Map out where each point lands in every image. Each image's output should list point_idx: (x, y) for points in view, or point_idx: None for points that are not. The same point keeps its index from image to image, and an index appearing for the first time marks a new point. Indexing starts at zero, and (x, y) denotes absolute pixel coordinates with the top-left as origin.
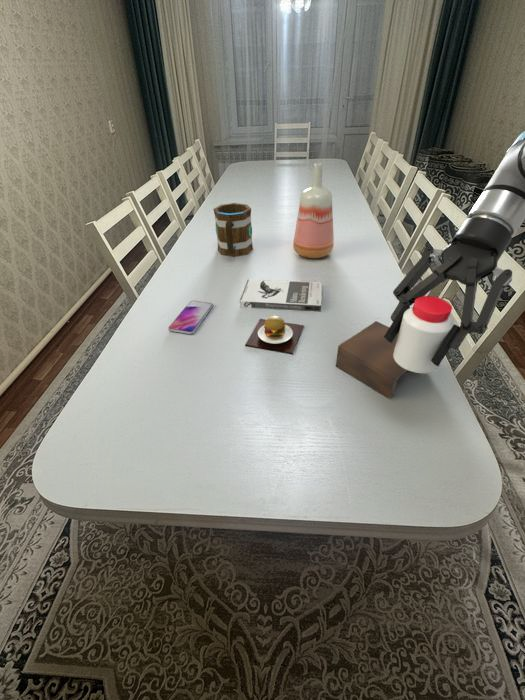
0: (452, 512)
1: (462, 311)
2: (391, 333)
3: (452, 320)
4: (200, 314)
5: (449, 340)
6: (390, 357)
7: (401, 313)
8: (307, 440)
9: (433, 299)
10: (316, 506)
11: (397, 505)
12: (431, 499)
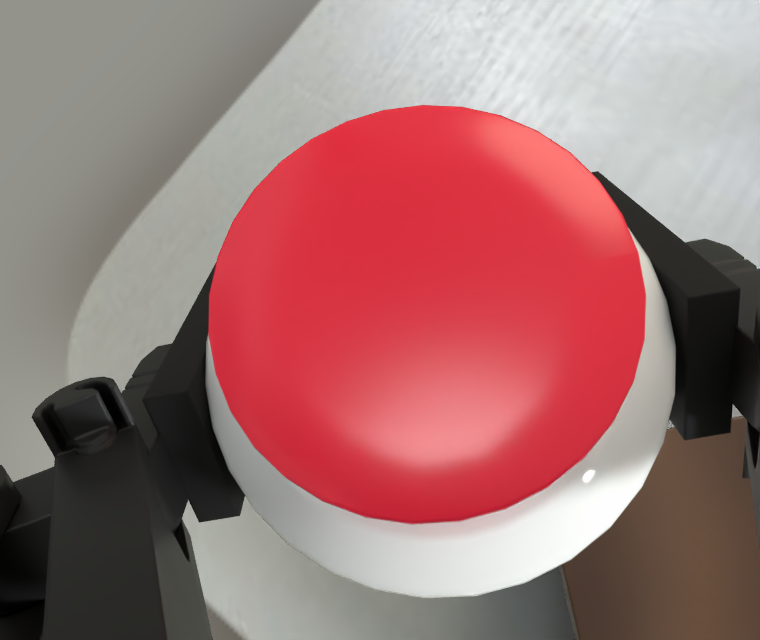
0: (120, 280)
1: (148, 508)
2: None
3: (245, 458)
4: None
5: (184, 322)
6: (675, 560)
7: (659, 248)
8: (518, 95)
9: (501, 399)
10: (335, 17)
11: (218, 178)
12: (173, 263)
